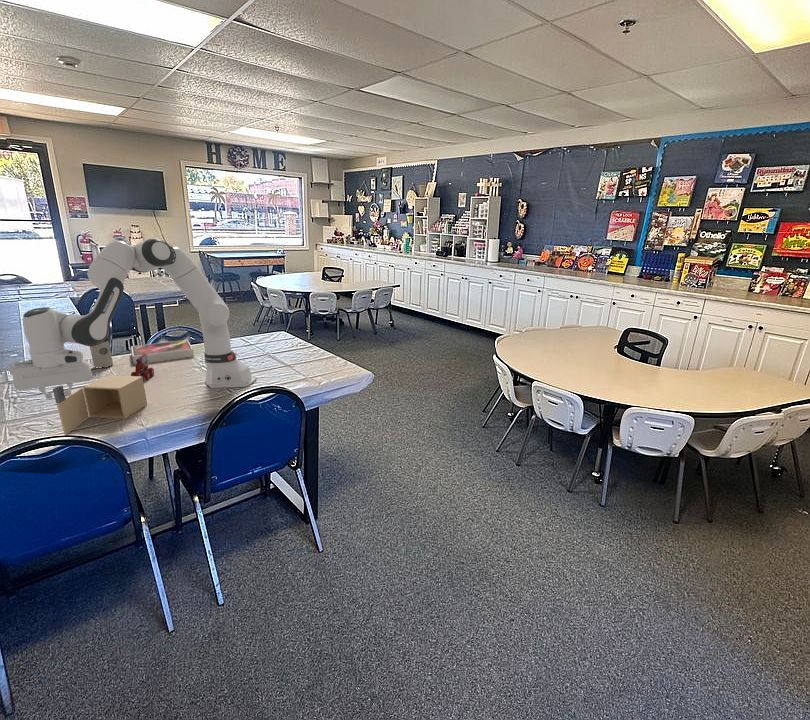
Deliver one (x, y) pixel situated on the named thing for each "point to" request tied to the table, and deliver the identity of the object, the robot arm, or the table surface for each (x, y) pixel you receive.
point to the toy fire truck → (143, 368)
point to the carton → (115, 396)
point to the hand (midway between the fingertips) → (59, 396)
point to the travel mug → (101, 354)
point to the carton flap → (70, 408)
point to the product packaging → (163, 351)
